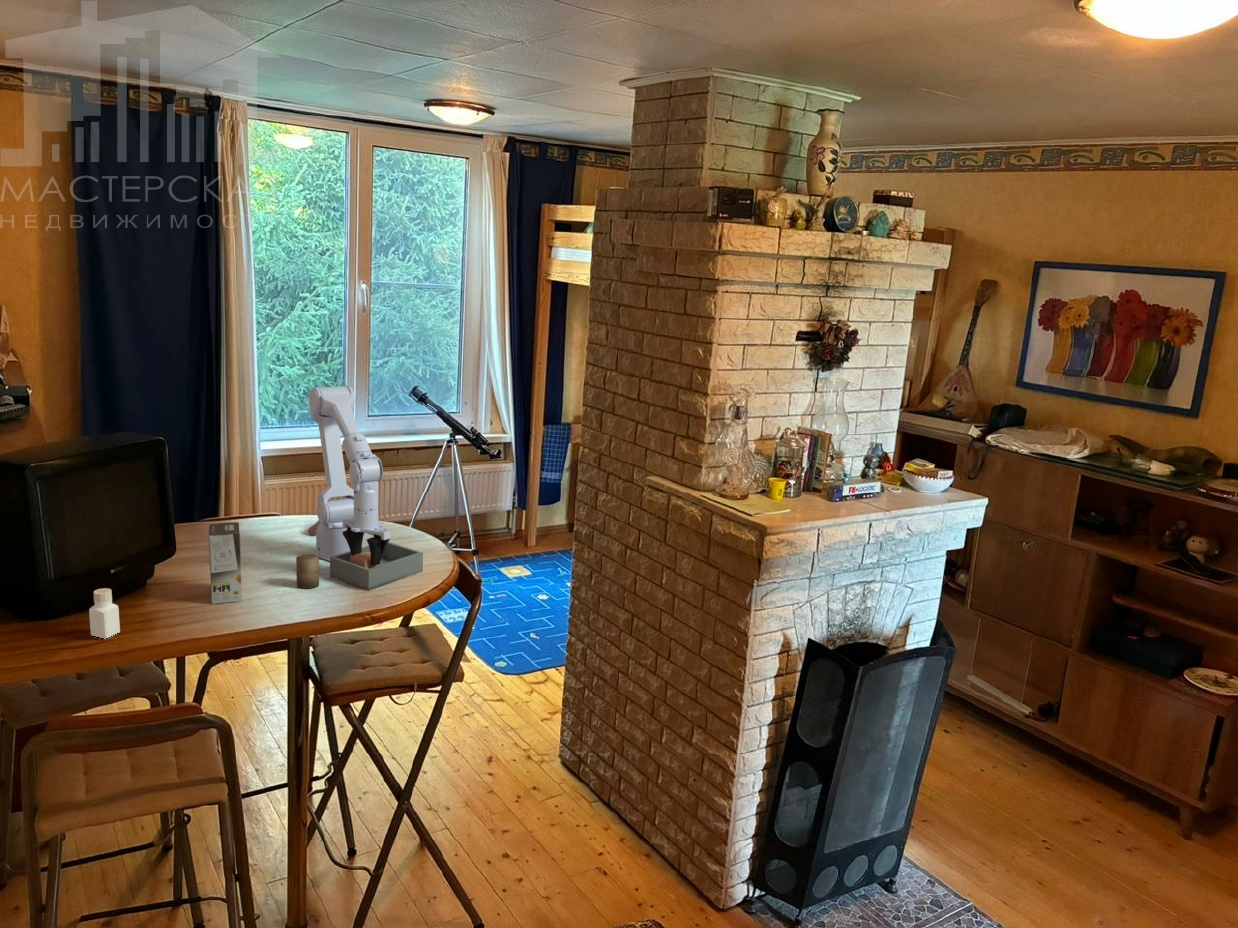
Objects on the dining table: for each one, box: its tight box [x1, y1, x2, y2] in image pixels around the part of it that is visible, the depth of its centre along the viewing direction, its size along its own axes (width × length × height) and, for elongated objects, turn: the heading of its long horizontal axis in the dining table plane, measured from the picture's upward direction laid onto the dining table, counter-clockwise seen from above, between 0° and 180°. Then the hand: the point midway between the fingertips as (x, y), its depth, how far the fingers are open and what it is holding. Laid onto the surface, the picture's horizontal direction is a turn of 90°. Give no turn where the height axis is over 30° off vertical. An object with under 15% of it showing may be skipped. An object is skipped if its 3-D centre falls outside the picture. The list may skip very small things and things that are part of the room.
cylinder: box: [295, 553, 320, 590], centre depth 220 cm, size 5×5×7 cm
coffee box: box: [208, 521, 242, 605], centre depth 210 cm, size 9×6×16 cm
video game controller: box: [307, 519, 320, 536], centre depth 259 cm, size 10×5×7 cm, turn 169°
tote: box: [329, 541, 424, 591], centre depth 230 cm, size 14×18×5 cm
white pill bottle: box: [88, 587, 121, 640], centre depth 187 cm, size 4×4×10 cm
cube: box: [351, 551, 381, 569], centre depth 227 cm, size 5×5×5 cm
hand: (366, 561), depth 227 cm, fingers open, 6 cm apart
